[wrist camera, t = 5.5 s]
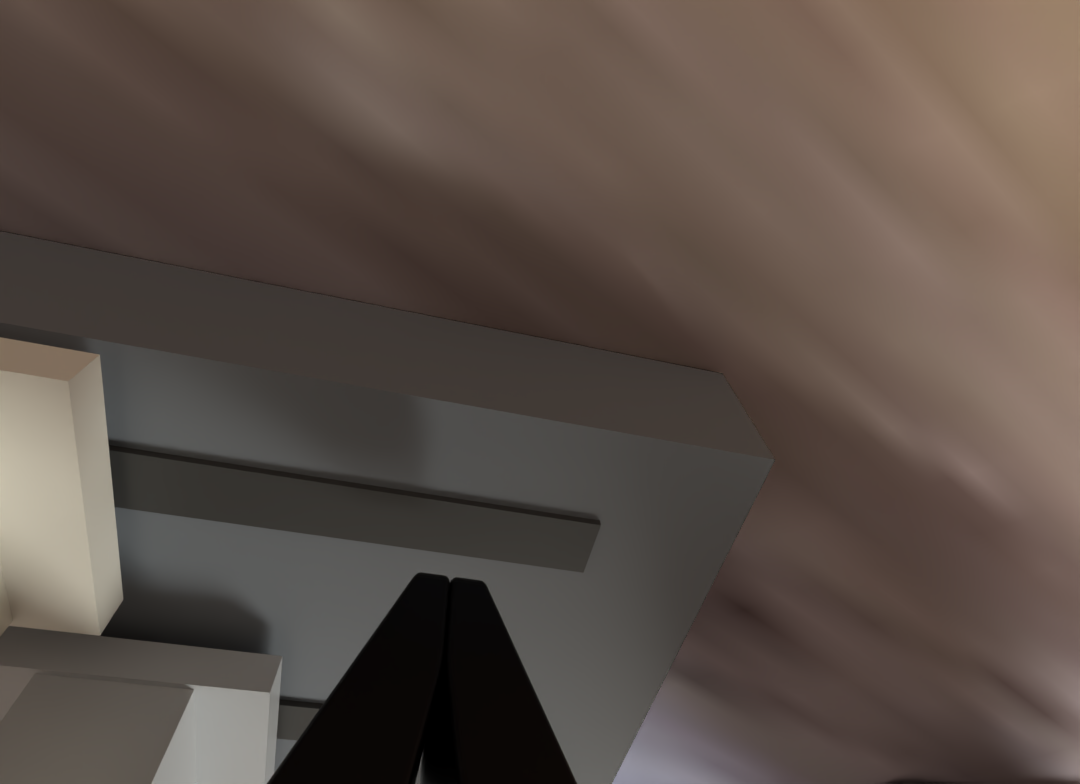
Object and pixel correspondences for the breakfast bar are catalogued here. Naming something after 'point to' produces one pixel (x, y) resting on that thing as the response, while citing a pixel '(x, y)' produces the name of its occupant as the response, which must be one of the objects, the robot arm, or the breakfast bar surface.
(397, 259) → the breakfast bar surface
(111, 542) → the cream flanged block
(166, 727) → the white stepped block
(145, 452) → the console
